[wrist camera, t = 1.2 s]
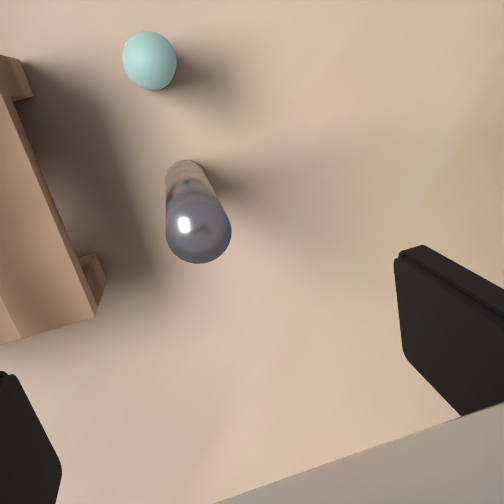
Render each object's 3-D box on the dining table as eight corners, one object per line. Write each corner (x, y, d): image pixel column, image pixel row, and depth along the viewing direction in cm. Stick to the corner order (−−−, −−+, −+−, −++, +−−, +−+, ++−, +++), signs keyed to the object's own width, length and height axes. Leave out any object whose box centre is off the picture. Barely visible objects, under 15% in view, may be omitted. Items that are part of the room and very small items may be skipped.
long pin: (199, 155, 29) (222, 193, 17) (210, 194, 30) (238, 253, 18) (160, 166, 28) (157, 211, 17) (172, 204, 29) (177, 271, 18)
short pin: (167, 38, 26) (167, 25, 21) (179, 84, 27) (183, 81, 22) (123, 48, 26) (114, 38, 21) (137, 94, 27) (132, 94, 22)
